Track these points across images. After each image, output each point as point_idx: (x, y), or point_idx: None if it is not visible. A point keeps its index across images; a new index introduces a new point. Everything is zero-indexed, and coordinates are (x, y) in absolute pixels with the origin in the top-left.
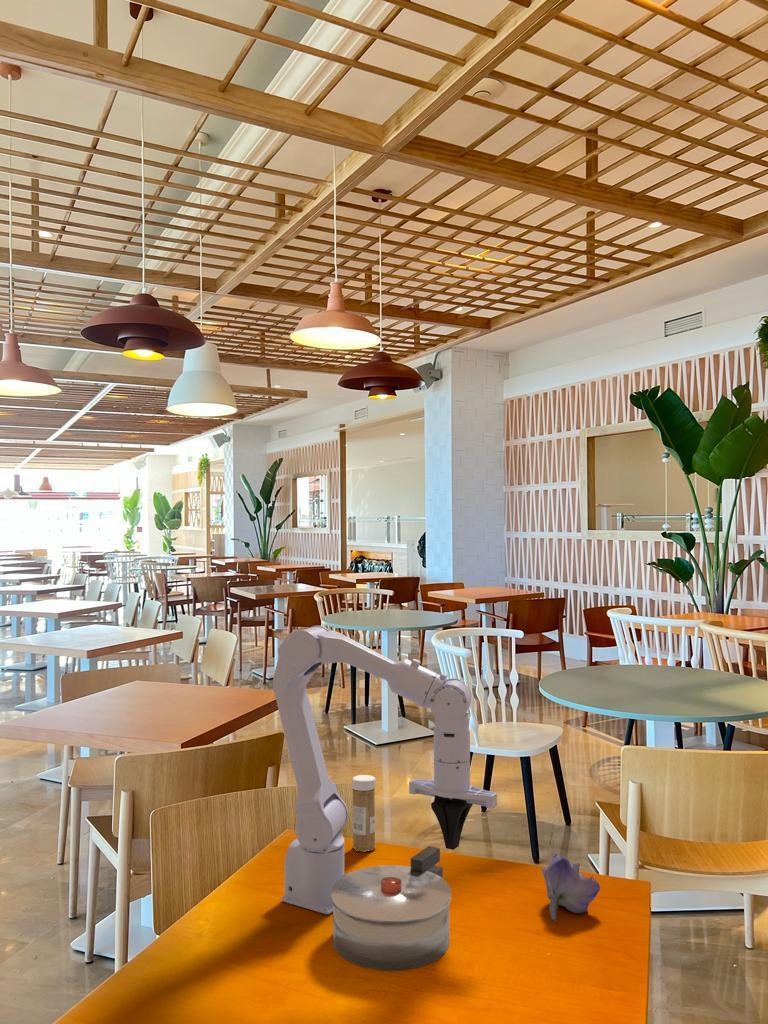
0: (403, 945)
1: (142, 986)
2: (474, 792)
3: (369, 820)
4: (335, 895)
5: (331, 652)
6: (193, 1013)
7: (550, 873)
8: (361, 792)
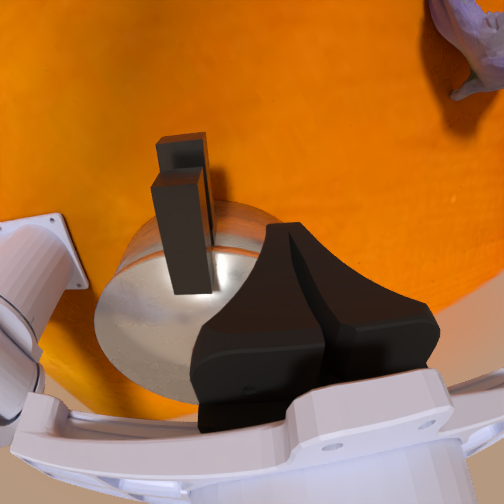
0: None
1: (110, 412)
2: (472, 443)
3: None
4: (156, 391)
5: None
6: (167, 419)
7: (495, 73)
8: None
